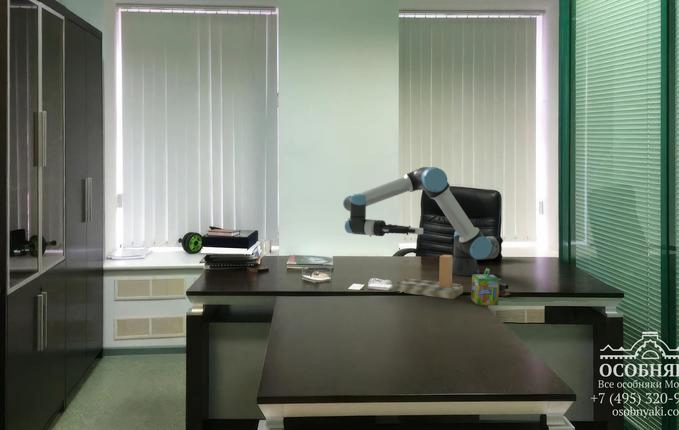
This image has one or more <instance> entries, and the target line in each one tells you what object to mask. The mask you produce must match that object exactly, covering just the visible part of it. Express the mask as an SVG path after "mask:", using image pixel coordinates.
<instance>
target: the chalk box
mask: <svg viewBox="0 0 679 430" xmlns="http://www.w3.org/2000/svg"><path fill="white" fill-rule="evenodd" d="M490 271H491V269H490V268H488V267H486V268H485V270H484V273H483V274H481V273H479V274H472V275H471V292H470V293H471V294H470V301H472V303H474V304H475V305H477V306H499V296H498V294H499V279H500V278H499V277H497V276H496V275H494V274H492V273H491V274H490Z"/></svg>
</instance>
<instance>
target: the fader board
mask: <svg viewBox="0 0 679 430" xmlns="http://www.w3.org/2000/svg"><path fill="white" fill-rule="evenodd" d="M395 291H400V292H399V293H402V292H404V293H403V294H410V295H411V294H412V295H418V296H426V297H427V296H428V297H434V298H443V299H449V300H454V299H456V298H457V297H459V296H460V295H462V294H463V293H464V286H462V285H461V283H452V286H451V287H449V288H448V287H439V281H433V280H425V279H424V280H423V279H417V278H416V279H415V278H404V280H403V281H397V282H396V284H394V292H395Z"/></svg>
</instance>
